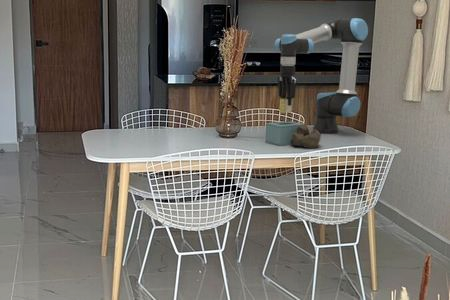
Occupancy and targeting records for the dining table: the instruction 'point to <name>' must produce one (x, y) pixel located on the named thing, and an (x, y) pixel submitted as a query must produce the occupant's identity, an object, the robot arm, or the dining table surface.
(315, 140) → the decorative stone
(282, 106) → the cream small block
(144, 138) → the dining table surface
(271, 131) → the coin box
